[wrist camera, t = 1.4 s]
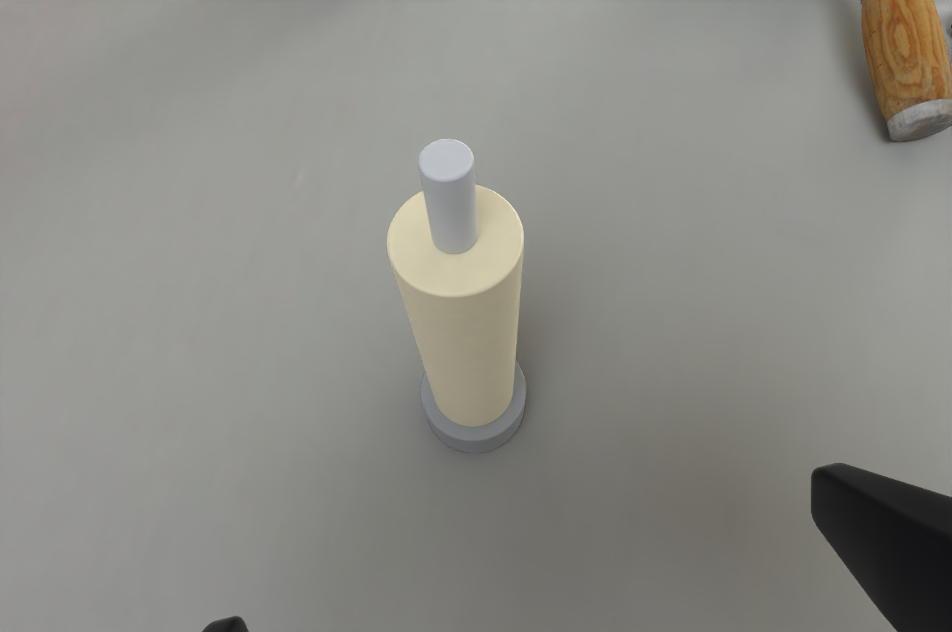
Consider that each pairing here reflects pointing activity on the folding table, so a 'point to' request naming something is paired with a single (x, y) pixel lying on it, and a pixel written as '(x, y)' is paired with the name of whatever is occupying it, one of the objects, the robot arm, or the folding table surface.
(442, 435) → the kitchen roll stand
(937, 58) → the magnifying glass
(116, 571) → the folding table surface
